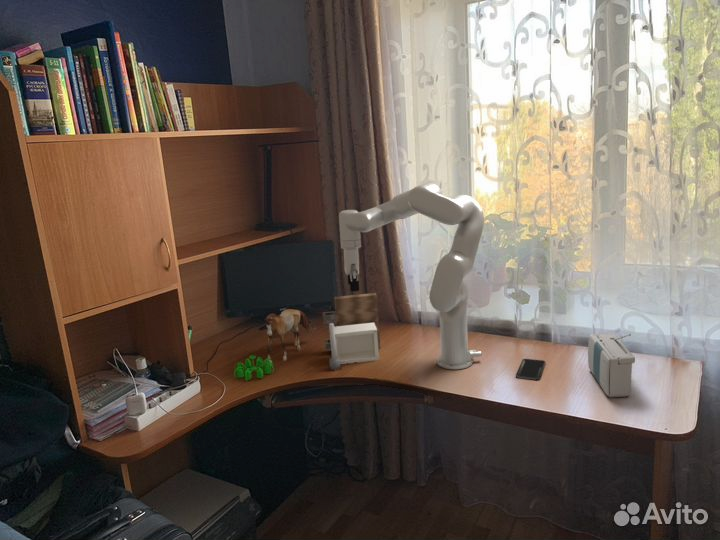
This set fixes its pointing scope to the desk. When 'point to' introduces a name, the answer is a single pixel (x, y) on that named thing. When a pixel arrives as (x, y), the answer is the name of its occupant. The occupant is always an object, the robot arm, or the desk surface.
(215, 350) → the desk surface
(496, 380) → the desk surface
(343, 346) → the cabinet
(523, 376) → the phone
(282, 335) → the horse figurine
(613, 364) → the stereo radio cassette player
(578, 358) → the desk surface
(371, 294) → the walnut door
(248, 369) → the green lumpy cluster
